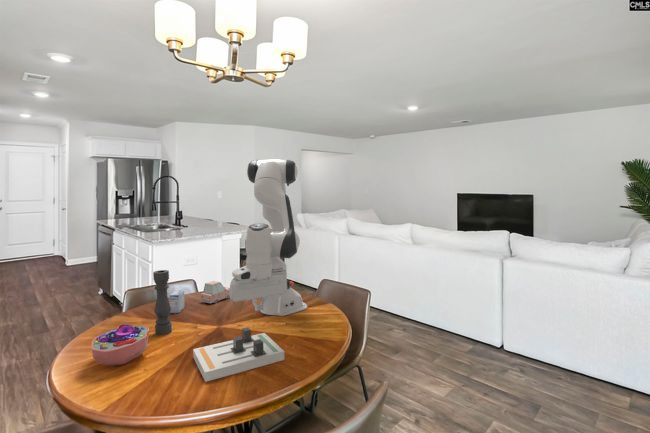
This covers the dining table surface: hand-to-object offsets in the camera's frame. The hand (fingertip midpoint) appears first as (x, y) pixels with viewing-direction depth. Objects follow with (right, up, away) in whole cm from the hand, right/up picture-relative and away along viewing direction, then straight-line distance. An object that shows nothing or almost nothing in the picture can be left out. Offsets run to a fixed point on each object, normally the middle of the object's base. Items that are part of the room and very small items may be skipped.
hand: (259, 309), depth 122 cm
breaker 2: (+1, -13, -5) cm, 14 cm away
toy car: (-33, -12, +61) cm, 71 cm away
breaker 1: (-6, -12, +5) cm, 14 cm away
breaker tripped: (-7, -13, -3) cm, 15 cm away
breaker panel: (-7, -16, -3) cm, 18 cm away
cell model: (-46, -17, -3) cm, 49 cm away
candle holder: (-43, -15, +20) cm, 49 cm away
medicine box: (-48, -13, +46) cm, 68 cm away
